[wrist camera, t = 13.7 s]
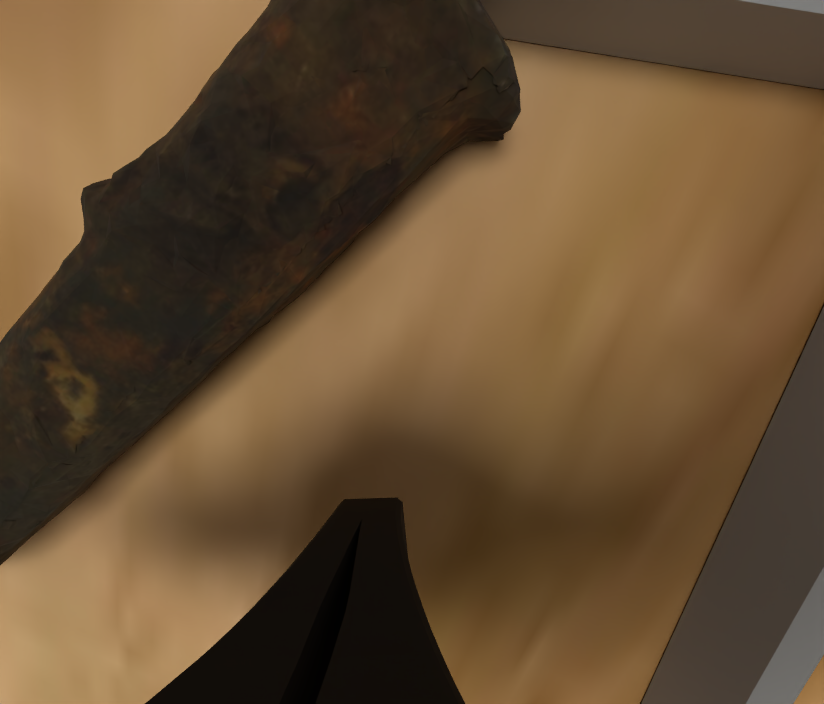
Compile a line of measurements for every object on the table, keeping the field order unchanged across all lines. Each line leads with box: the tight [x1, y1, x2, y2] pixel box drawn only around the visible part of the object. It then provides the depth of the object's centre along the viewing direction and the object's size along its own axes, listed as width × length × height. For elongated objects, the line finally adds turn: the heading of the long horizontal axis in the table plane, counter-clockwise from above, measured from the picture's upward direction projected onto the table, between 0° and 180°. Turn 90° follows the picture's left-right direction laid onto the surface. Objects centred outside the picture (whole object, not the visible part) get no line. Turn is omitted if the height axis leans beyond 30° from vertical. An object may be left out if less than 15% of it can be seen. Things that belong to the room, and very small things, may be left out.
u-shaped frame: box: [480, 0, 824, 704], centre depth 10 cm, size 10×23×2 cm, turn 171°
